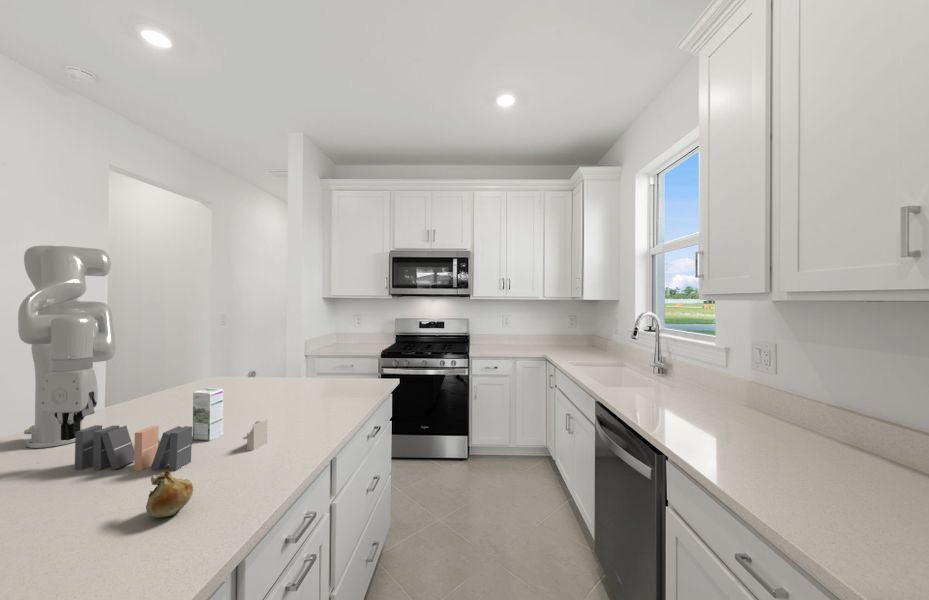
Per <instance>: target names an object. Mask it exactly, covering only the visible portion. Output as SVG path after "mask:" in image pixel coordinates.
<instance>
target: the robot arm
mask: <svg viewBox="0 0 929 600" xmlns="http://www.w3.org/2000/svg"><path fill="white" fill-rule="evenodd" d="M23 262H24V263H23V264H24V269H25V272H26V274H27V277H28V278H29V280H30V282H31V284H32V285H33V287H34V291H32V292H31V293H30V294H28V295H27V296H26V297H25V298H24V299H23V300H22V302H21V304H20V306H19V308H18V312H17V327H18V329H17V332H18V337H19V339H20V340H21V341H22V342H23V343H24V344H26V345H27V344H28V345H31V348H30V349H31V356H32V360H33V366H34V374H35V378H34V379H35V380H34V381H35V391H34V392H35V393H34V395H35V396H34V399H35V400H34V402H35V403H34V408H35V409H34V425H31V426H29V428H28V429H25V430H24V431H23V433H24V435H31V436H30V437H31V438H29V439H28V440H26V442H25V446H26V447H27V448H29V449H43V448H52V447H58V446H59V447H60V446H64V445H68V444H72V443H75V432H77V431H80V430H83V429H84V428H83V421H84V418H85V417H88V416H91V415H94V414H95V407H97V405H98V397H99V395H98V393H99V392H98V382H97V380H98V379H97V376H96V372H95V369H94V367H93V366H94V363H100V362H107V361H109V360H112V359H113V357H114V356H115V355H116V339H115V337H116V336H115V330H114V328H115V327H114V320H113V314H112V310H111V308H110V307H109V305H108V304H107V303H105V302H103V301H102V302H101V301H85V300H84V301H81V300H79V298H81V297H82V296H83V295H84V294H85V293H86V292H87V284H86V283H87V282H86V276H87V277H106V276H107V275H108V274H109V273H110V271H111V265H112V263H111V258H110V255H109V254H108V253H107V251H105V250H104V249H100V248H92V247H80V246H71V245H70V246H69V245H68V246H67V245H66V246H65V245H35V246H34V245H33V246H32V247H31V246H30V247H28V248H27V249H26V250H25V252H24V254H23ZM36 313H37V314H36Z"/></svg>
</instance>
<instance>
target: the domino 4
mask: <svg viewBox="0 0 929 600" xmlns="http://www.w3.org/2000/svg"><path fill="white" fill-rule="evenodd" d="M159 431H160V430H159V425H151V426H147V427H146V428H143V429H141V430H138V431H136V432H134V461H133V463H134V464H133V470H134V471H144V470H146V469H147V468H149V467H151V466H150V465H152V463H153V460H154V457H155V454H156V452H157V449H158V446H159Z"/></svg>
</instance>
